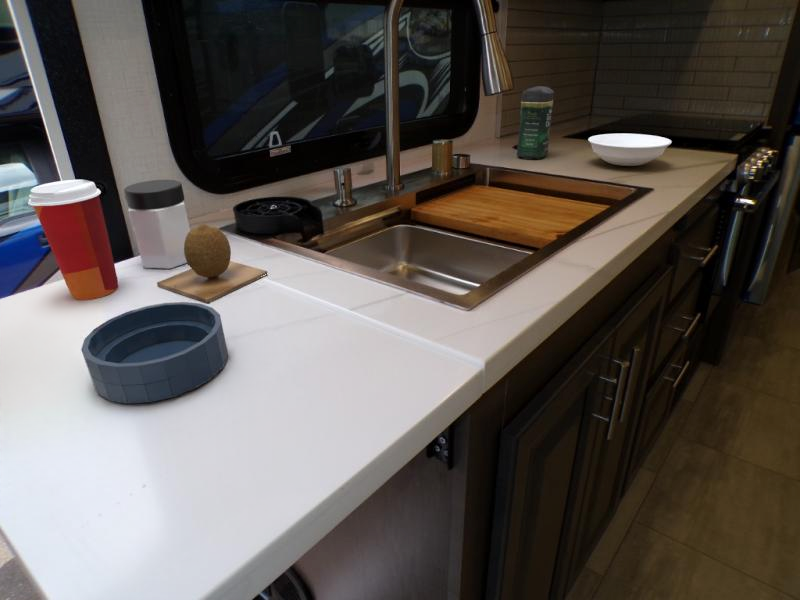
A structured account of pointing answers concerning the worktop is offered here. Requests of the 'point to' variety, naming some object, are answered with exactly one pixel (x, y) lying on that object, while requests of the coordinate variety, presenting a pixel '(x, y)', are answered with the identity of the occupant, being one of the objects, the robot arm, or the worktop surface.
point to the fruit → (207, 251)
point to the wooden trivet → (212, 282)
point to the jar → (159, 222)
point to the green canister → (535, 122)
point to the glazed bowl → (155, 352)
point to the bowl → (628, 148)
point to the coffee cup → (77, 236)
